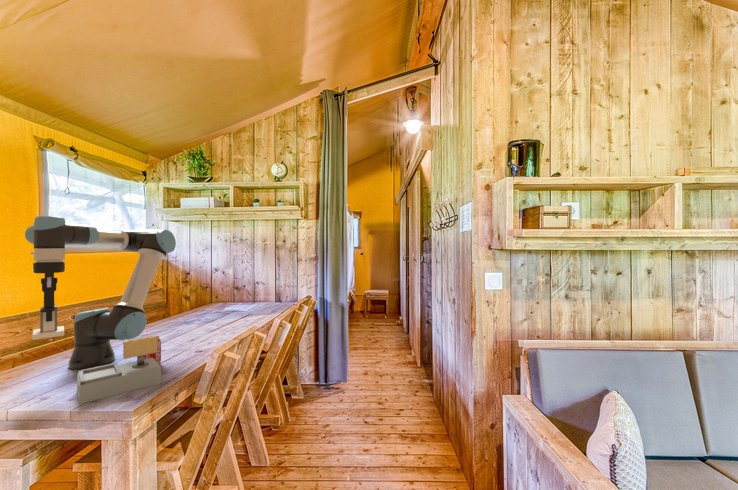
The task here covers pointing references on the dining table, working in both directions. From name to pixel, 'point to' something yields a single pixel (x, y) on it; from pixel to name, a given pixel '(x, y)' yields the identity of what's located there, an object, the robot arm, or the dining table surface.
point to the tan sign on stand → (139, 348)
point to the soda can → (156, 355)
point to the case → (116, 379)
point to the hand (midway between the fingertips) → (49, 329)
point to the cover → (40, 334)
